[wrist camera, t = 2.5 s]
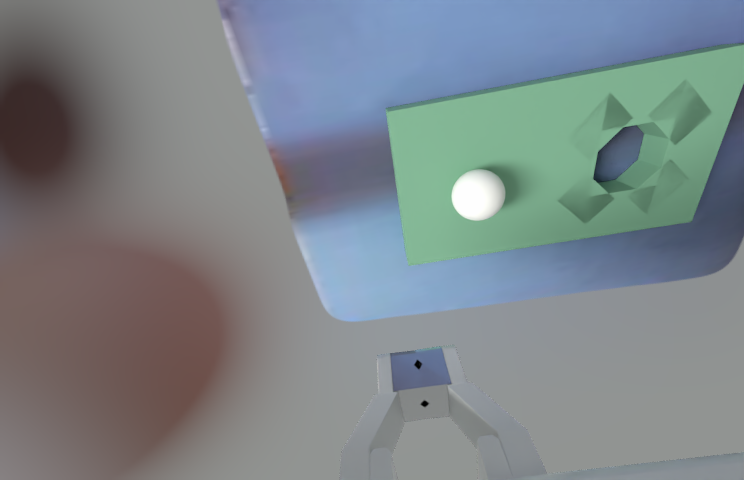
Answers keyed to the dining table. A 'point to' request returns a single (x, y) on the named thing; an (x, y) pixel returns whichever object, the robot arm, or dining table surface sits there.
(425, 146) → the putting mat
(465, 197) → the ball
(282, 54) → the dining table surface
